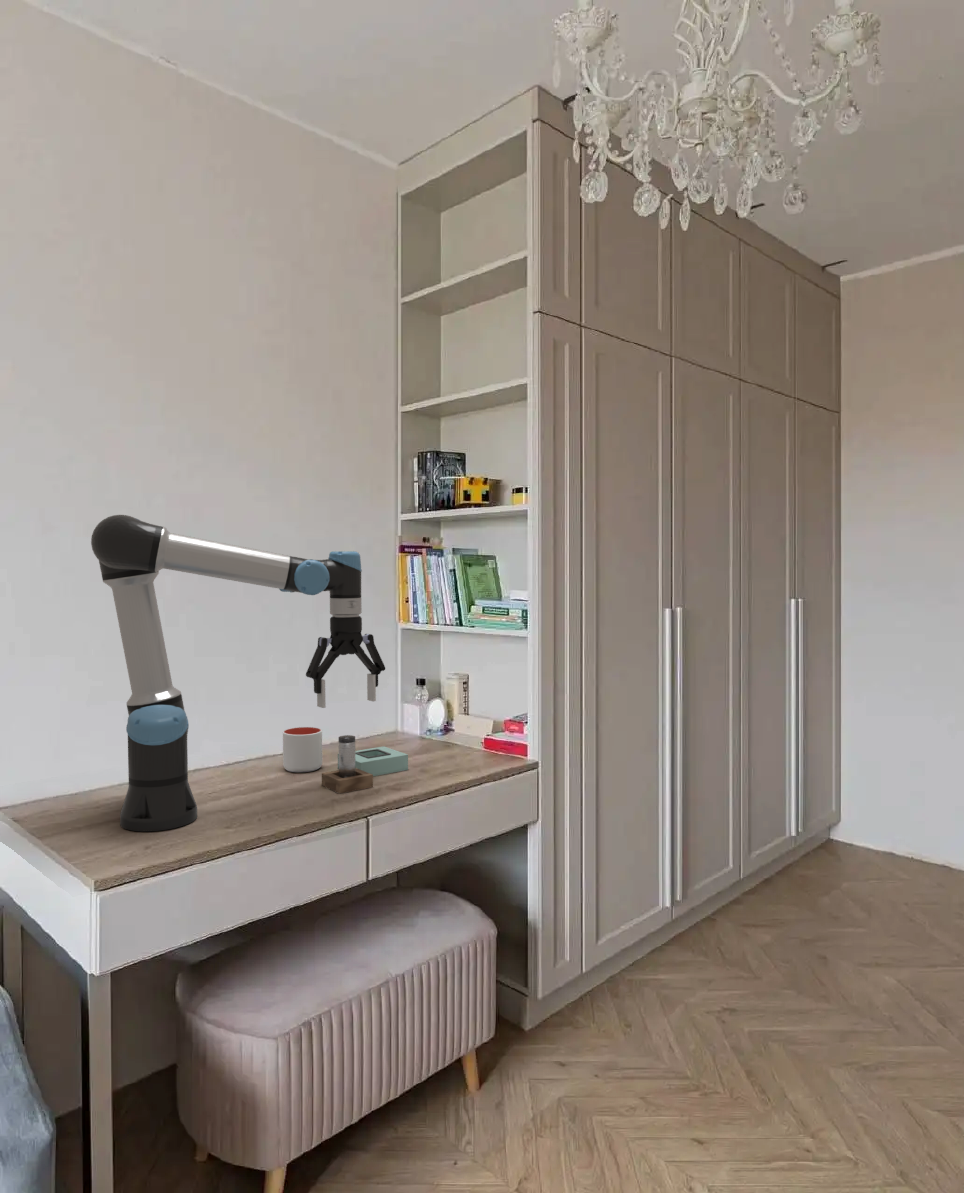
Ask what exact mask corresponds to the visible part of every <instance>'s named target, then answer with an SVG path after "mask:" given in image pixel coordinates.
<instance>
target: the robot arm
mask: <svg viewBox="0 0 964 1193" xmlns="http://www.w3.org/2000/svg"><path fill="white" fill-rule="evenodd" d="M90 544H91V549H92V553H93V554H94V556H95V558H96V559H97V560H98V563H99V569H100V572H101V579H102V582H103V584H105V585H107V586H109V587H110V589H111V590H112V597H113V602H114V606H115V612H116V617H117V621H118V627H119V633H120V639H121V642H122V648H123V653H124V658H125V663H126V669H127V674H128V679H129V684H130V691H131V695H130V697H129V699H127V701H126V709H127V714H128V717H127V724H126V733H127V759H128V760H127V763H128V765H127V766H128V768H127V769H128V770H127V771H128V772H127V773H128V774H127V775H128V788H127V791H126V794H125V798H124V801H123V804H122V808H121V811H120V813H119V820H120V827H121V828H122V829H124V830H129V831H132V832H159V831H167V830H171V829H172V830H173V829H176V828H181V827H183V826H186V825H189V824H190V823H193V822H195V821H196V819H197V818H198V806H197V803H196V800H195V797H194V795H193V794H194V793H193V792H192V789H191V786H190V784H189V783H190V782H189V774H188V773H189V771H188V770H189V769H188V768H189V767H188V766H189V765H188V733H189V719H188V716H187V713H186V711H185V706H184V701H183V695H182V692H181V690H179V689H178V688H176V687H175V686H173V681H172V680H173V679H172V676H171V670H170V665H169V660H168V653H167V647H166V644H165V639H164V638H165V637H164V632H163V628H162V622H161V617H160V612H159V606H158V600H157V594H156V591H155V583H154V581H155V579H156V578H157V577H158V575H159V574H160V572H159V571H160V570H163V569H164V570H165V569H166V570H169V571H175V572H176V571H177V572H182V573H187V574H192V575H193V574H194V575H198V576H204V577H209V578H210V577H211V578H214V579H222V580H227V581H233V582H239V583H245V584H251V585H256V586H262V587H268V588H272V589H278V590H279V591H280V592H284V593H285V592H286V593H287V592H288V593H301V594H303V595H307V596H308V595H309V596H315V595H318V594H320V593H322V592H329V614H330V615H331V617H330V618H329V628H330V629H329V630H330V636H329V637H322V636H319V637H318V638H317V647H316V649H315V652H314V653H313V657H312V659H311V660H310V662H309V666H308V668H307V670H306V673H305V677H307V678H311V679H312V680H313V692H314V694H316V695H317V696H316V697H317V698H316V701H317V703H316V704H317V706H316V707H318V708H321V709H325V708H326V707H327V706H326V679H323V678H324V676H325V675H326V673H327V672H328V671H329V669H330V667H331V666H332V665H333V663H334V662H335V660H336V659H338V658H339V657H340V656H346V655H356V657H357V658H358V659H359V660H360V662H362V664H363V665H364V667H366V669H367V670H368V671H369V673H367V674H366V675H367V678H366V679H367V681H366V684H367V685H366V689H367V692H366V693H367V696H366V697H367V701H370V702H377V700H376V699H377V697H376V696H377V693H376V692H377V691H376V688H378V686H379V675H380V674H381V672H384V671H385V670H386V666H385V664H384V661H383V660H382V657H381V655H380V653H379V651H378V649H377V647H376V644H375V639H374V635H373V634H371V633H365V634H364V635H362V630H363V622H362V621H363V617H362V616H360V615H361V614H362V612H363V610H362V572H363V570H362V562H361V560H362V559H361V555H360V553H359V552H358V551H354V550H353V551H345V550H344V551H343V550H341V551H336V550H335V551H330V552H329V554H328V557H327V559H307V558H302V557H298V556H291V555H288V554H281V553H277V552H272V551H271V552H270V551H268V550H267V551H265V550H260V549H256V548H250V547H245V546H239V545H235V544H230V543H226V542H219V541H215V540H208V539H204V538H199V537H192V536H189V535H188V536H187V535H184V534H177V533H171V532H170V531H169V530H168V529H167V527H166V526H161V525H156V524H153V523H150V522H149V523H148V522H146V521H142V520H140V519H138V518H135V517H133V516H131V515H126V514H115V515H110V516H108V517H106V518H104V519H102V520H101V521H100V522H99V523H98V524H97V525H96V526H95V528H94V529H93V532H92V535H91V541H90ZM362 643H363V644H364V645H365V647H366V650H367V652H368V654H369V656H370V657H369V656H368V655H367V654H366V652H365V650H364V648H363V647H362V646H361V644H362ZM329 646H331V647H330V649H329V650H328V652H327V655H326V656H325V654H326V651H327V648H328V647H329ZM324 656H325V657H324ZM323 658H324V659H323Z"/></svg>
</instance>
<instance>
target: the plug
mask: <svg viewBox="0 0 964 1193" xmlns="http://www.w3.org/2000/svg"><path fill="white" fill-rule="evenodd" d="M355 751H356V736H355V735H351V734H350V735H349V734H347V735H340V736H338V754H339V769H338V770H339V777H341V778H347V777H352V776H356V759H355Z"/></svg>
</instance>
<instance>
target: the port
mask: <svg viewBox="0 0 964 1193" xmlns="http://www.w3.org/2000/svg"><path fill="white" fill-rule="evenodd" d="M355 759H356V768H357V769H360V770H362V771H365V772H367V773H370V774H372V775H373V777H377V776H382V775H388V774H392V773H398V772H403V771H409V754H408V753H405V752H402V751H398V750H395V749H393V748H390V747H387V746H377V747H373V748H372V747H371V748H365V749H359V750H355ZM337 770H339V753H337Z"/></svg>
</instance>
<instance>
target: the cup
mask: <svg viewBox="0 0 964 1193" xmlns="http://www.w3.org/2000/svg"><path fill="white" fill-rule="evenodd" d="M282 754H283V755H282V764H283V768H284V769H285V770H286V771H288V772H290V773H310V772H313V771H314V772H315V771H318V769H320V768H321V767H322V765H323V729H321V728H319V727H313V726H312V727H311V726H301V727H300V726H299V727H292V728H291V727H290V728H287V729H285V730H283V731H282Z"/></svg>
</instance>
